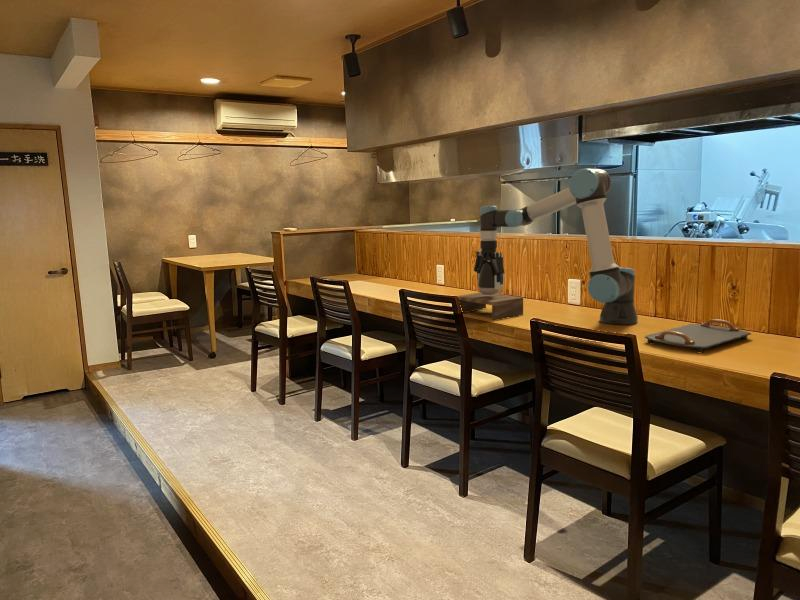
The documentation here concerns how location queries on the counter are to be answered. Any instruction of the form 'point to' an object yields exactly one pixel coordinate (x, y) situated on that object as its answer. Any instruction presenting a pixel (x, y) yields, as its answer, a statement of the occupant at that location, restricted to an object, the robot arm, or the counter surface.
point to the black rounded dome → (487, 279)
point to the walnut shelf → (493, 304)
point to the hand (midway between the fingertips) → (488, 288)
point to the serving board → (699, 335)
